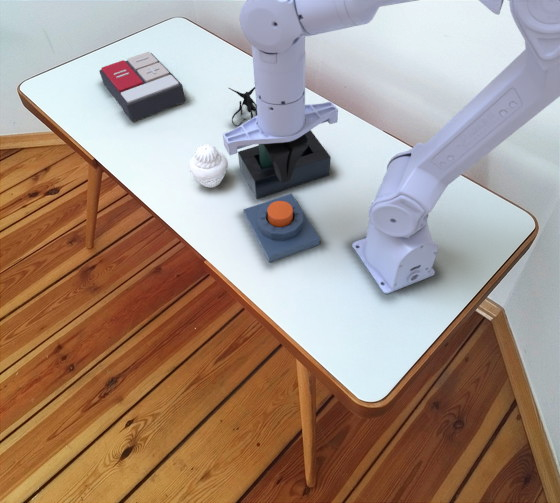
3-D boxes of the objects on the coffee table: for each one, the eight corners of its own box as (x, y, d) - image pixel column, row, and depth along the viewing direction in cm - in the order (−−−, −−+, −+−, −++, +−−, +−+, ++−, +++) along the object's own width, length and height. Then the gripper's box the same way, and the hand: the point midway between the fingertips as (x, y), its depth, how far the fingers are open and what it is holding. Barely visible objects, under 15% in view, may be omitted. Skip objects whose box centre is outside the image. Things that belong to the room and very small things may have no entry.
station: (319, 244, 75) (320, 231, 72) (269, 263, 73) (268, 250, 71) (291, 199, 81) (291, 185, 78) (243, 215, 79) (242, 201, 76)
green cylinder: (279, 180, 83) (277, 130, 75) (264, 185, 83) (261, 135, 75) (273, 170, 85) (270, 120, 77) (258, 175, 84) (254, 125, 76)
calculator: (149, 48, 102) (182, 80, 94) (155, 68, 105) (186, 101, 97) (97, 66, 99) (125, 101, 90) (104, 86, 102) (132, 122, 93)
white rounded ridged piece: (185, 178, 84) (177, 144, 79) (218, 162, 86) (212, 129, 81) (204, 200, 81) (197, 167, 75) (237, 183, 83) (233, 150, 78)
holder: (329, 175, 84) (330, 156, 80) (256, 199, 81) (254, 181, 78) (310, 148, 88) (310, 129, 85) (239, 170, 85) (237, 151, 82)
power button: (296, 222, 74) (296, 214, 73) (273, 230, 73) (273, 222, 72) (286, 206, 76) (286, 197, 75) (264, 213, 75) (263, 205, 74)
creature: (278, 127, 93) (265, 95, 96) (279, 107, 88) (265, 73, 92) (236, 137, 92) (224, 104, 95) (235, 117, 87) (222, 83, 90)
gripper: (321, 56, 63) (318, 144, 74) (208, 88, 60) (222, 174, 70) (349, 87, 59) (341, 175, 69) (230, 122, 55) (241, 208, 66)
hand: (283, 177), depth 70 cm, fingers closed
